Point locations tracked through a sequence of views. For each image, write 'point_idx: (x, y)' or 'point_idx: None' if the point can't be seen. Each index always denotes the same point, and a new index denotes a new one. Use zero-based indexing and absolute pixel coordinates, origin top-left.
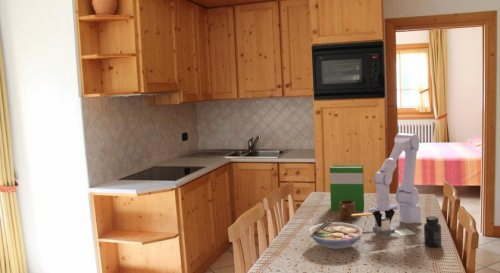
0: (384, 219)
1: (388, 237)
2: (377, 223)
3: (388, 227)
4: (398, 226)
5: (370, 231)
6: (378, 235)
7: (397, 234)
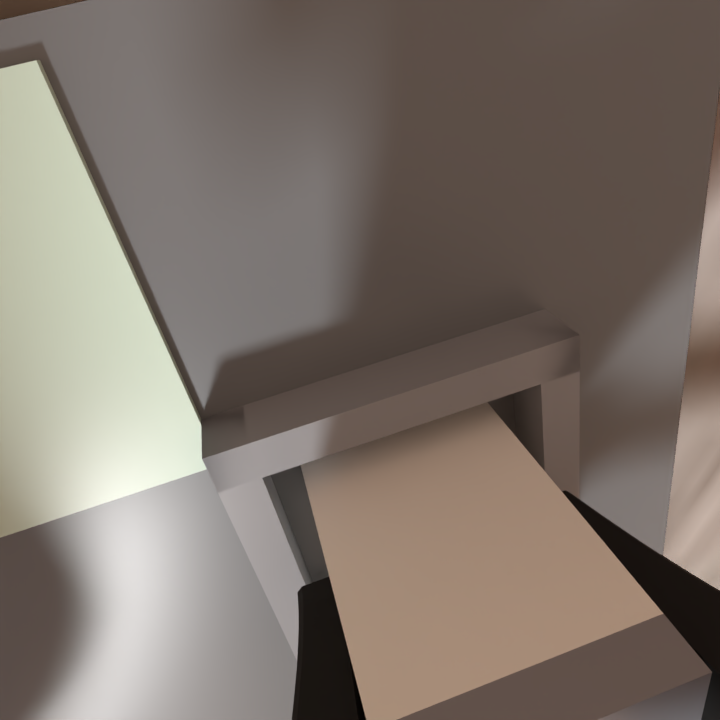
0: (600, 699)
1: (496, 18)
2: None
3: (356, 510)
4: (38, 703)
5: (641, 455)
6: (636, 225)
7: (167, 239)
